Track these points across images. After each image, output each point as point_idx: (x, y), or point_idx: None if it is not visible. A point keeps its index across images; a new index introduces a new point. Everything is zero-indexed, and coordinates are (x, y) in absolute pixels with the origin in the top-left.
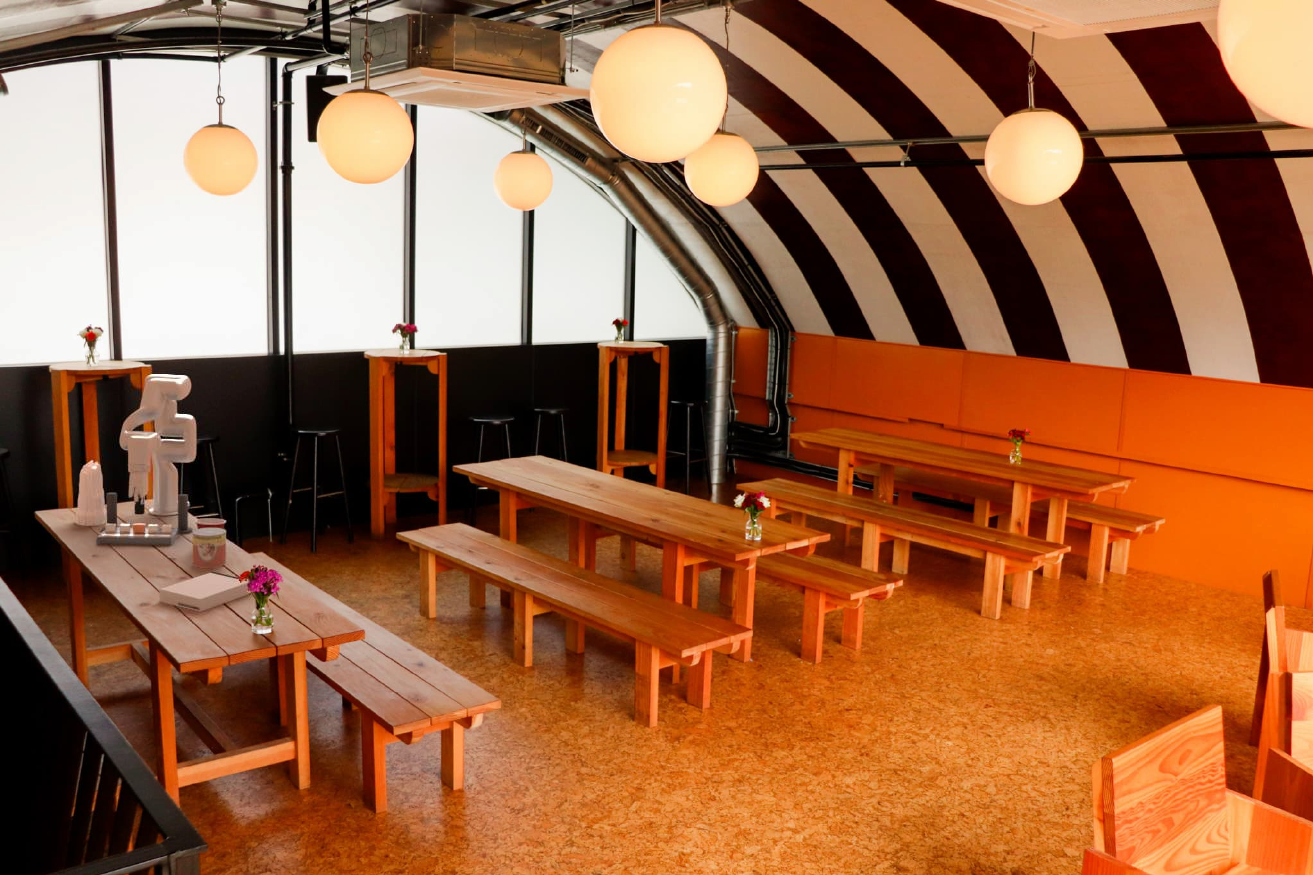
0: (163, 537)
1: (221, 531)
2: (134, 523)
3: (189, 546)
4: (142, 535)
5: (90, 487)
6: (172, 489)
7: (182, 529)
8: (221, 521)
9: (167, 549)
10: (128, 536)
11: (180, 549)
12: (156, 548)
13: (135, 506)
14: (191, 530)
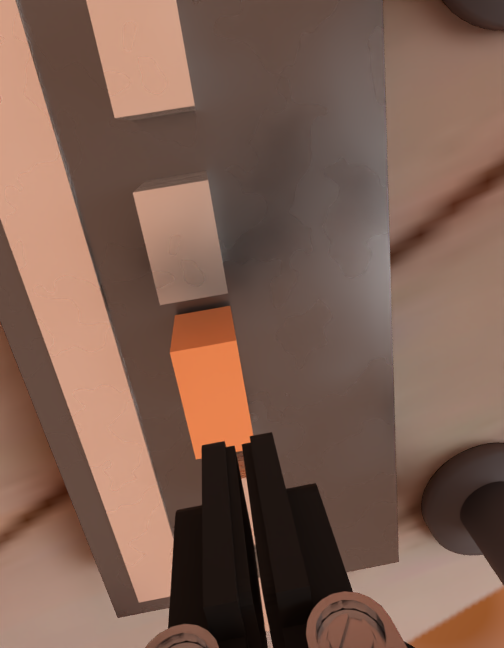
0: (110, 574)
1: None
2: (233, 344)
3: (140, 644)
4: (99, 432)
5: None
6: None
7: (464, 522)
8: None
9: (27, 579)
10: (35, 327)
11: (57, 633)
12: (23, 519)
13: (207, 571)
14: (472, 552)
